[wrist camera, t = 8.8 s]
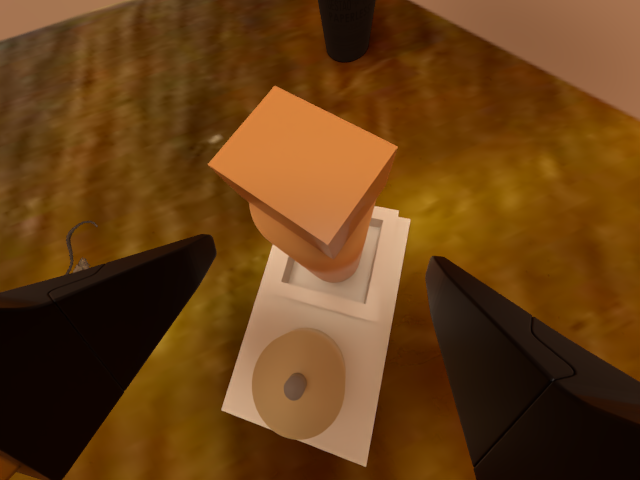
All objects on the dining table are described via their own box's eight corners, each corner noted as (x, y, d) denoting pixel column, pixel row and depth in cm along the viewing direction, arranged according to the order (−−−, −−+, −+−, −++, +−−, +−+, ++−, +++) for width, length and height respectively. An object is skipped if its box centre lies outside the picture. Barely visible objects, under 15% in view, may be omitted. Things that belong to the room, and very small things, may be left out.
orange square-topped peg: (340, 293, 19) (317, 275, 5) (297, 262, 20) (185, 180, 6) (370, 249, 19) (420, 129, 6) (327, 221, 20) (284, 66, 7)
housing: (364, 455, 17) (371, 521, 12) (229, 403, 19) (185, 440, 14) (407, 223, 21) (425, 198, 16) (291, 201, 23) (274, 172, 18)
